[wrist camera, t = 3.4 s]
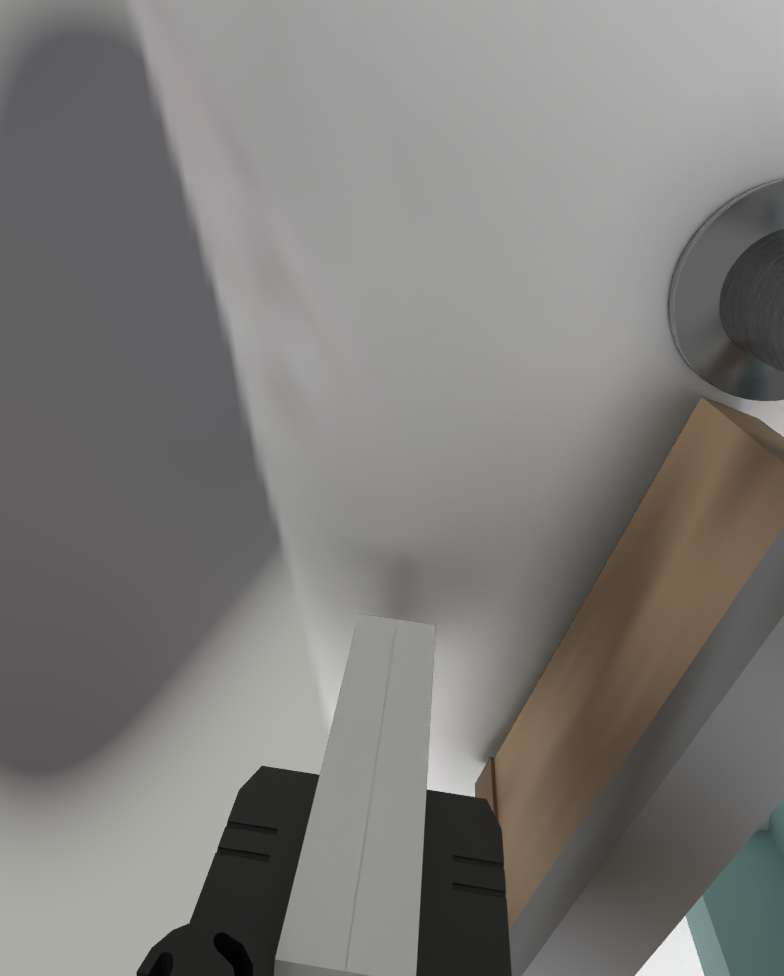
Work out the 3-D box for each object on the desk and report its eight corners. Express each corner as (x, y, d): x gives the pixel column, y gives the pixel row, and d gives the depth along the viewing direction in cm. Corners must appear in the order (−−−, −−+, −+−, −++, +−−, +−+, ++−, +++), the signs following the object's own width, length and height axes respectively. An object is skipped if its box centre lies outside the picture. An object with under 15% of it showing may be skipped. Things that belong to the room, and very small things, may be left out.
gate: (692, 392, 13) (863, 535, 8) (766, 421, 13) (992, 584, 8) (471, 782, 17) (476, 1057, 12) (529, 802, 18) (561, 1084, 12)
